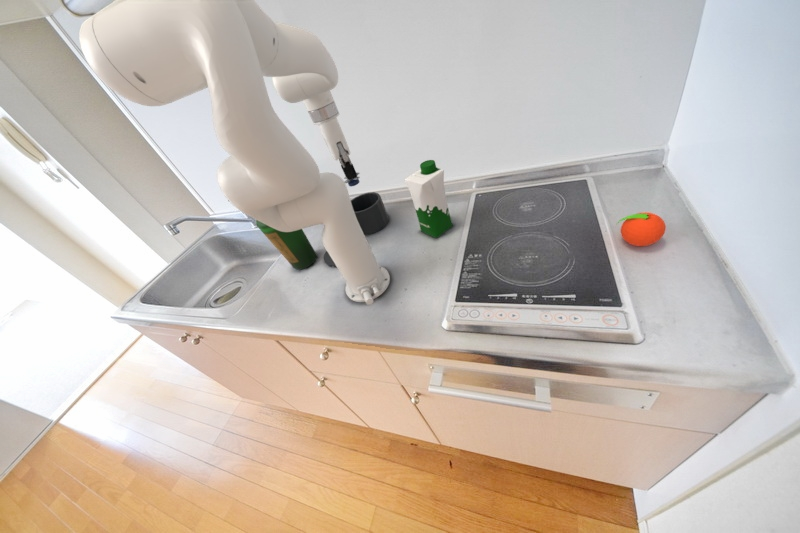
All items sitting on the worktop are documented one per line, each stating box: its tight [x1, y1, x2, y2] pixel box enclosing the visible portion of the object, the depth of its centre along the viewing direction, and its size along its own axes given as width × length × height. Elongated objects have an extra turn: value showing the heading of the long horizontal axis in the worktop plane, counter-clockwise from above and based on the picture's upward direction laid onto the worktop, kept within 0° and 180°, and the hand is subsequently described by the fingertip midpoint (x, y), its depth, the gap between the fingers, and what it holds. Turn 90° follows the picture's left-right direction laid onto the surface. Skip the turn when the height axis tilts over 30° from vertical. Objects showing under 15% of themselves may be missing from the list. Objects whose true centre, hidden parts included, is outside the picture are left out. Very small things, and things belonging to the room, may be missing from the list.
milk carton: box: [404, 159, 453, 239], centre depth 76 cm, size 9×9×20 cm
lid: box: [323, 251, 337, 267], centre depth 85 cm, size 13×13×6 cm
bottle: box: [255, 219, 318, 271], centre depth 81 cm, size 11×11×28 cm
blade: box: [343, 172, 361, 187], centre depth 83 cm, size 6×6×8 cm
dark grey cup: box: [350, 191, 390, 236], centre depth 92 cm, size 12×12×9 cm
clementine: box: [617, 212, 667, 247], centre depth 56 cm, size 8×7×7 cm
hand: (351, 176), depth 83 cm, fingers closed on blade
